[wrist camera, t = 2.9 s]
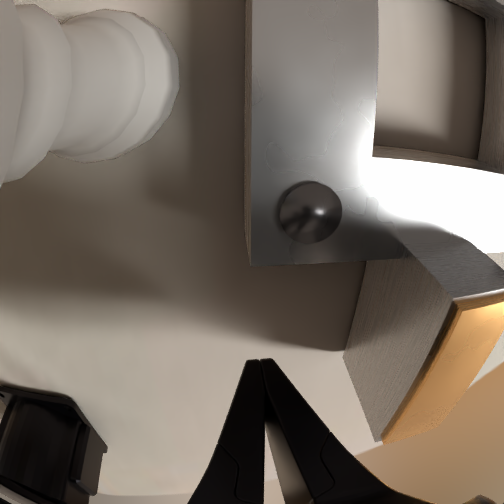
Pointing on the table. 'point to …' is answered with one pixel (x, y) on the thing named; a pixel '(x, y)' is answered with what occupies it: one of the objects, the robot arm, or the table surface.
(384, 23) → the table surface
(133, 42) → the rook chess piece
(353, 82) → the grey bolted fixture plate
